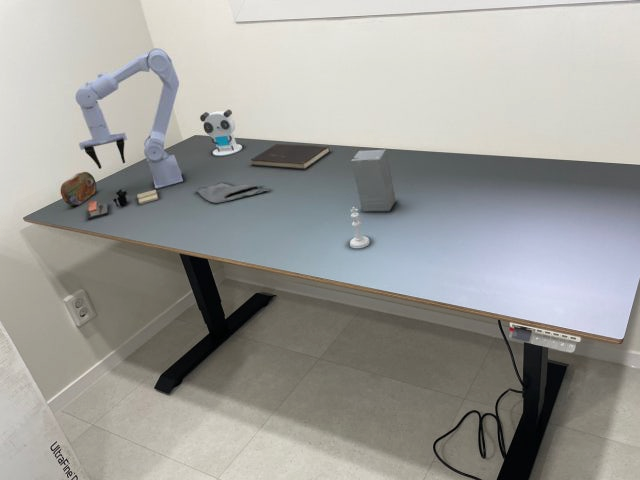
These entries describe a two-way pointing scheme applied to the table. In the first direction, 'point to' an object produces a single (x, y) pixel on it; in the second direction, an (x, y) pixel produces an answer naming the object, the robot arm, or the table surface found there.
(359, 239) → the chess piece
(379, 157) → the cosmetic box
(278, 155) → the hardcover book
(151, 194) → the napkin
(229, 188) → the cloth
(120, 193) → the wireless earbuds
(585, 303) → the table surface
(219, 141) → the panda figurine
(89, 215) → the sushi plate
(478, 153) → the table surface
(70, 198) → the tin
